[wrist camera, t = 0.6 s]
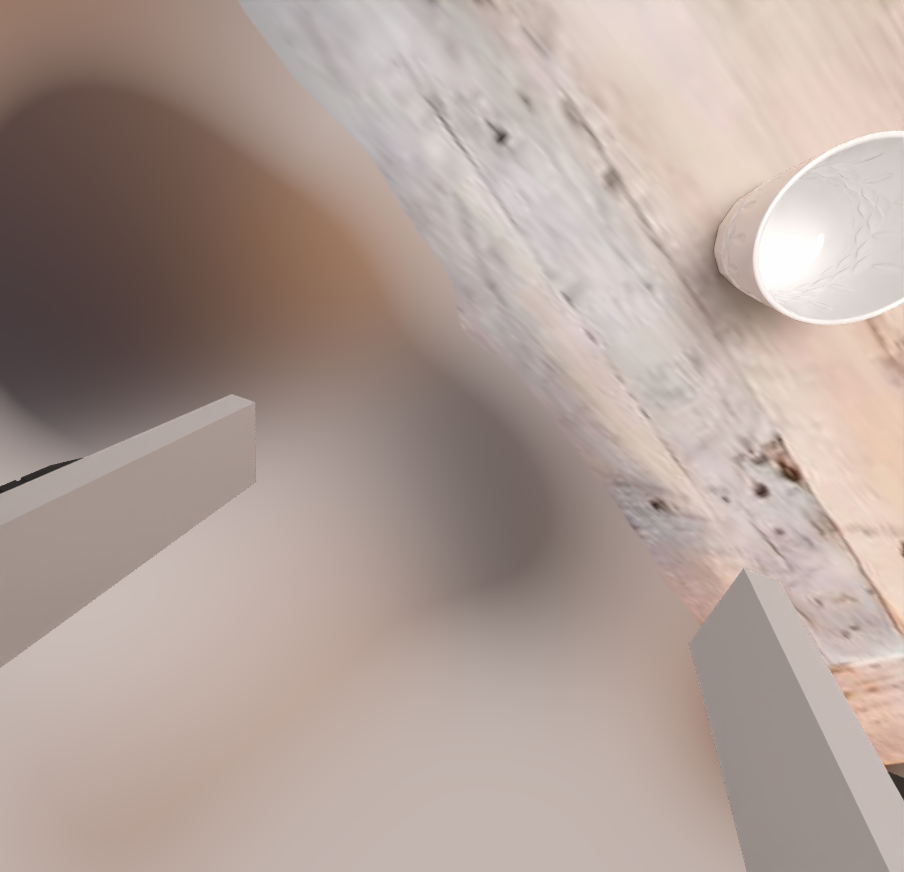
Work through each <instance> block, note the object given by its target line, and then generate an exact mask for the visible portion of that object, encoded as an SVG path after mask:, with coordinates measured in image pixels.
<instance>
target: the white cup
mask: <svg viewBox="0 0 904 872" xmlns="http://www.w3.org/2000/svg"><path fill="white" fill-rule="evenodd" d="M714 255H715V258H716V262H717V265H718V269H719V272H720V273H721V274H722V275H723V276H724V277H725V278H726V279H727V280H728V281H729V282H731V283H732V284H733V285H734V286H735V287H736V288H738V289H739V290H741V291H742V292H744V293H745V294H747V295H749V296H750V297H752V298H753V299H755V300H757V301H759V302H761V303H763V304H765V305H767V306H769V307H771V308H773V309H775V310H776V311H778V312H780V313H782V314H784V315H786V316H788V317H790V318H792V319H795V320H798V321H801V322H805V323H810V324H817V325H840V324H848V323H853V322H858V321H862V320H865V319H869V318H872V317H875V316H877V315H880V314H882V313H885V312H887V311H889V310H891V309H893V308H895V307H897V306H899V305H901V304H902V303H904V131H885V132H878V133H873V134H869V135H865V136H861V137H858V138H855V139H852V140H850V141H847V142H845V143H843V144H840V145H838V146H836V147H834V148H832V149H830V150H828V151H826V152H824V153H822V154H820V155H817V156H815V157H813V158H811V159H809V160H807V161H805V162H803V163H800V164H798V165H796V166H794V167H792V168H790V169H788V170H786V171H785V172H783V173H780V174H779V175H777V176H775V177H773V178H771V179H770V180H768V181H766V182H765V183H763V184H761V185H759V186H758V187H756V188H755V189H754V190H752V191H751V192H749V193H748V194H747V195H745V196H744V197H742V198H741V199H740V200H738V201H737V202H735V204H734V205H733V207H732V208H731V209H730V211H729V212H728V214H727V215H726V217H725V218H724V220H723V221H722V223H721V224H720V225H719V228H718V232H717V237H716V242H715V246H714Z"/></svg>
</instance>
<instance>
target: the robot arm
mask: <svg viewBox="0 0 904 872" xmlns="http://www.w3.org/2000/svg"><path fill="white" fill-rule="evenodd" d="M255 449H256V445H255V402H253V401H250V400H247V399H244V398H241V397H238V396H235V395H232V394H231V395H229V396H227V397H224V398H222V399H220V400H217V401H215V402H213V403H210V404H208V405H206V406H203V407H201V408H199V409H196V410H194V411H192V412H189V413H187V414H185V415H182V416H180V417H178V418H175V419H173V420H171V421H168V422H166V423H164V424H161V425H159V426H157V427H154V428H152V429H150V430H148V431H145V432H143V433H141V434H138V435H136V436H134V437H131V438H129V439H127V440H124V441H122V442H120V443H117V444H115V445H113V446H110V447H108V448H106V449H104V450H101V451H99V452H96V453H94V454H92V455H90V456H87V457H85V458H80V459H75V460H71V461H67V462H63V463H59V464H55V465H50V466H48V467H46V468H43V469H41V470H39V471H36V472H34V473H31V474H29V475H26V476H24V477H22V478H21V480H20V481H16V480H14V481H12V482H10V483H7V484H5V485H2V486H0V668H1V667H2V666H3V665H5V664H6V663H8V662H9V661H10V660H12V659H13V658H14V657H16V656H17V655H19V654H20V653H21V652H23V651H24V650H25V649H27V648H28V647H30V646H31V645H32V644H34V643H35V642H37V641H38V640H39V639H41V638H42V637H43V636H45V635H46V634H48V633H49V632H50V631H52V630H53V629H54V628H56V627H57V626H59V625H60V624H61V623H63V622H64V621H65V620H67V619H68V618H69V617H71V616H72V615H73V614H75V613H76V612H78V611H79V610H80V609H82V608H83V607H85V606H86V605H87V604H89V603H90V602H91V601H93V600H94V599H96V598H97V597H98V596H100V595H101V594H102V593H104V592H105V591H107V590H108V589H109V588H111V587H112V586H113V585H115V584H116V583H118V582H119V581H120V580H122V579H123V578H124V577H126V576H127V575H129V574H130V573H131V572H133V571H134V570H135V569H137V568H138V567H140V566H141V565H142V564H144V563H145V562H146V561H148V560H149V559H151V558H152V557H153V556H155V555H156V554H157V553H159V552H160V551H162V550H163V549H164V548H166V547H167V546H168V545H170V544H171V543H173V542H174V541H175V540H177V539H178V538H179V537H181V536H182V535H184V534H185V533H186V532H188V531H189V530H190V529H192V528H193V527H194V526H196V525H197V524H198V523H200V522H201V521H203V520H204V519H206V518H207V517H208V516H209V515H211V514H212V513H214V512H215V511H216V510H218V509H219V508H221V507H222V506H223V505H225V504H226V503H227V502H229V501H230V500H231V499H233V498H234V497H236V496H237V495H239V494H240V493H241V492H243V491H244V490H245V489H247V488H248V487H249V486H251V485H252V484H254V483H255V482H256V450H255ZM689 646H690V650H691V654H692V658H693V662H694V666H695V670H696V674H697V678H698V682H699V685H700V689H701V693H702V697H703V701H704V705H705V709H706V713H707V717H708V721H709V725H710V728H711V733H712V737H713V740H714V745H715V748H716V752H717V756H718V760H719V764H720V768H721V772H722V776H723V780H724V784H725V788H726V792H727V795H728V800H729V803H730V807H731V811H732V815H733V819H734V823H735V827H736V831H737V835H738V839H739V843H740V847H741V851H742V855H743V858H744V863H745V867H746V870H747V872H904V778H903V777H900V776H898V775H895V774H893V773H890V772H887V770H886V768H885V767H884V765H883V763H882V761H881V760H880V758H879V756H878V754H877V752H876V751H875V749H874V747H873V745H872V744H871V742H870V740H869V738H868V737H867V735H866V733H865V731H864V730H863V728H862V726H861V724H860V722H859V721H858V719H857V717H856V715H855V714H854V712H853V710H852V708H851V707H850V705H849V703H848V701H847V700H846V698H845V696H844V694H843V692H842V691H841V689H840V687H839V685H838V684H837V682H836V680H835V678H834V677H833V675H832V673H831V671H830V670H829V668H828V666H827V664H826V663H825V661H824V659H823V657H822V655H821V654H820V652H819V650H818V648H817V647H816V645H815V643H814V641H813V640H812V638H811V636H810V634H809V633H808V631H807V629H806V627H805V625H804V624H803V622H802V620H801V618H800V617H799V615H798V613H797V611H796V610H795V608H794V606H793V604H792V603H791V601H790V599H789V597H788V596H787V594H786V592H785V590H784V588H783V587H782V585H781V583H780V581H779V580H777V579H775V578H772V577H769V576H766V575H763V574H760V573H757V572H754V571H751V570H748V569H745V568H743V570H742V571H741V572H740V574H739V575H738V577H737V578H736V579H735V581H734V582H733V583H732V585H731V586H730V588H729V589H728V590H727V592H726V593H725V594H724V596H723V597H722V599H721V600H720V601H719V603H718V604H717V605H716V607H715V608H714V610H713V611H712V612H711V614H710V615H709V616H708V618H707V619H706V621H705V622H704V623H703V625H702V626H701V628H700V629H699V630H698V632H697V633H696V634H695V636H694V637H693V638H692V640H691V641H690V643H689Z"/></svg>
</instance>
